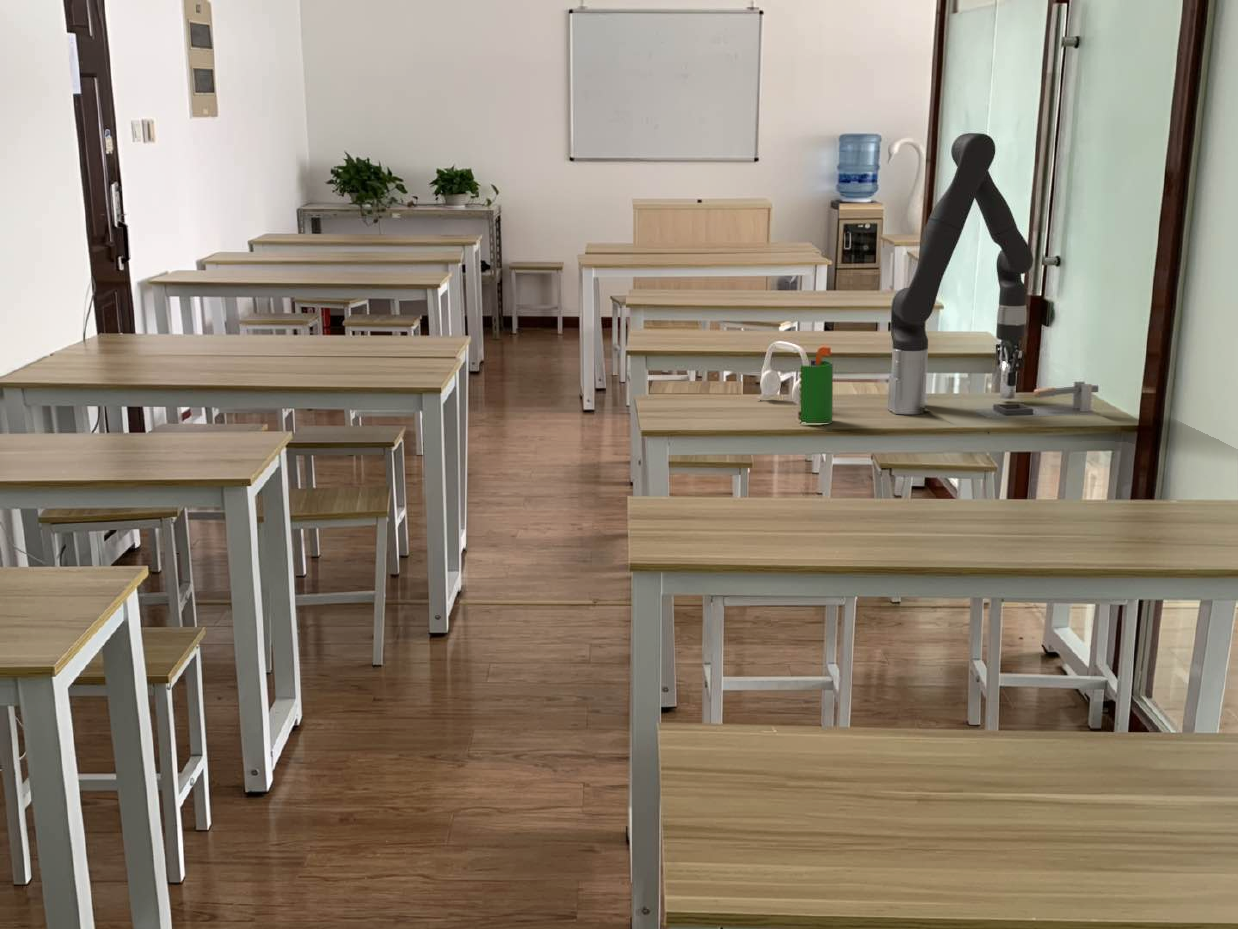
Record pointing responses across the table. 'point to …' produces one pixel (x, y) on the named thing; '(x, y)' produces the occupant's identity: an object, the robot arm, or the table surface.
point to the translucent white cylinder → (1006, 390)
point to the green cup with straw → (817, 389)
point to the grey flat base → (1044, 407)
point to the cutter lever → (1060, 391)
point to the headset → (771, 378)
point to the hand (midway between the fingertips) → (1007, 384)
